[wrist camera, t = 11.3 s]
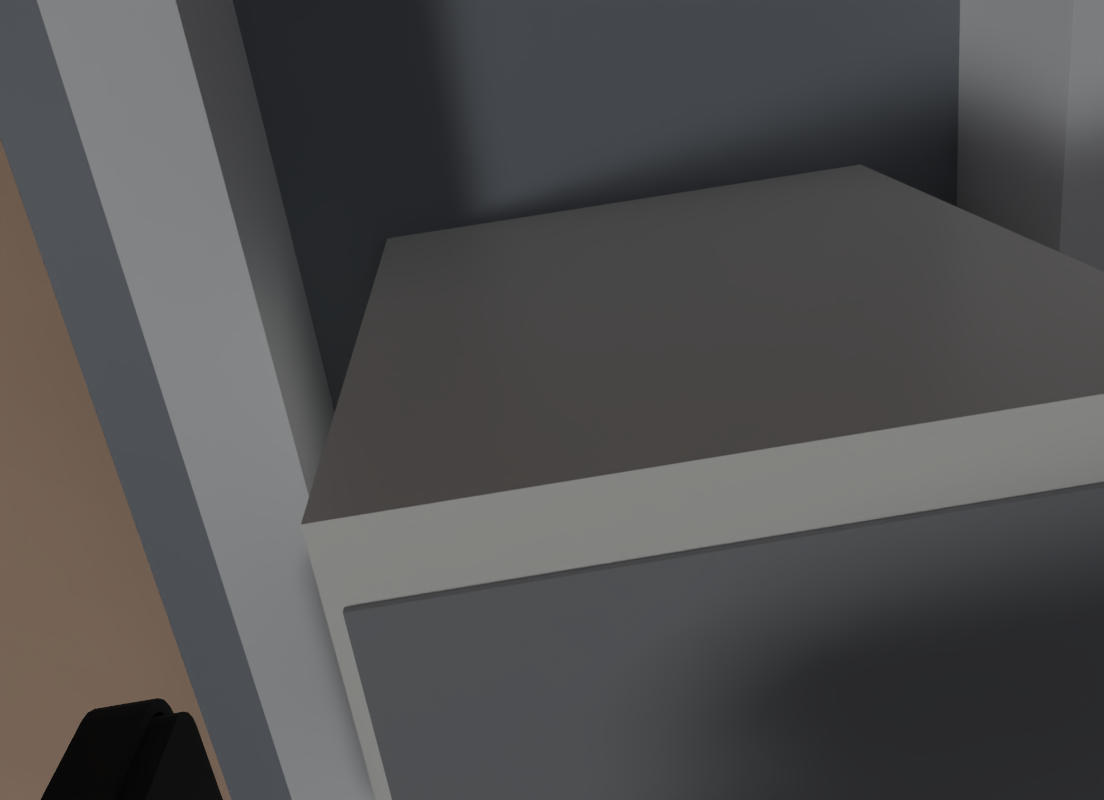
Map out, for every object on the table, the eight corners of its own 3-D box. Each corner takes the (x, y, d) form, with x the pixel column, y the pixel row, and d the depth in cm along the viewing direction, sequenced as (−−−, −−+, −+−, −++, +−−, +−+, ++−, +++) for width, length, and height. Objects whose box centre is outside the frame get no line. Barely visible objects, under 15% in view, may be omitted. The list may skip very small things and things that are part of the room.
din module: (386, 237, 10) (298, 529, 5) (860, 164, 10) (1312, 365, 5) (506, 817, 13) (539, 1403, 8) (871, 756, 14) (1156, 1291, 8)
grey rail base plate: (-6, -15, 10) (-184, -16, 7) (1155, -192, 10) (1407, -258, 8) (316, 954, 15) (284, 1164, 13) (1073, 822, 16) (1202, 1000, 13)
